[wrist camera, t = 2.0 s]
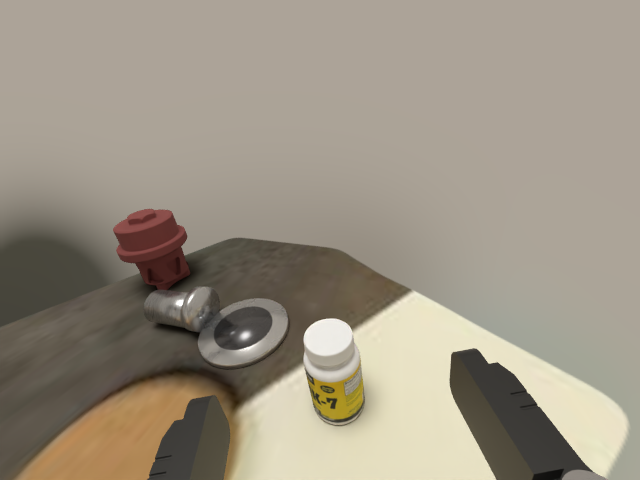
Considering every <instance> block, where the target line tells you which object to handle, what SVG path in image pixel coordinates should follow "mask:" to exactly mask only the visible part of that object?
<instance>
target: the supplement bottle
mask: <svg viewBox="0 0 640 480" xmlns="http://www.w3.org/2000/svg"><path fill="white" fill-rule="evenodd" d="M304 347H305V353H304V367H305V371H306V375H307V380H308V384H309V388H310V392H311V396H312V401H313V405H314V408H315V411H316V413H317V414H318V416H319V417H320V418H321V419H323V420H324V421H326V422H328V423H330V424H333V425H344V424H347V423H350V422H352V421H353V420H355V419H356V418H357V417H358V416H359V414H360V413H361V411H362V409H363V406H364V389H363V379H362V370H361V360H360V353H359V350H358V347H357V346H356V344H355V343H354V338H353V333H352V330H351V328H350V327H349V325H347V324H346V323H345V322H343V321H341V320H338V319H323V320H320V321H317V322H315V323H314V324H312V325H311V326H310V327H309V328H308V329H307V330H306V332H305V335H304Z"/></svg>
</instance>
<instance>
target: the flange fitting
mask: <svg viewBox="0 0 640 480" xmlns="http://www.w3.org/2000/svg"><path fill="white" fill-rule="evenodd" d="M219 307H220V301H219V296H218V294H217V292H216V291H215V290H214V289H213V288H210V287H201V286H200V287H196V288H194V289H192V290H191V291H190V292H189V293H184V292H177V291H169V290H161V289H160V290H156V291H154V292H152V293H151V294H150V295H149V296H148V297H147V299H146V301H145V304H144V315H145V317H146V318H147V320H149V321H151V322H155V323H161V324H166V325H172V326H177V327H183V328H186V329H187V330H189V331H194V332H200V335H199V339H198V347H199V350H200V353H201V355H202V357H203V359H204V360H205V361H206V362H207V363H209V364H210V365H212V366H214V367H217V368H221V369H238V368H243V367H246V366H250V365H252V364H255V363H257V362H259V361H261V360H263V359H264V358H266V357H268V356H269V355H270V354H272V353H273V352H274V351H275V350H276V349H277V348H278V347H279V346H280V345H281V343H282V342H283V341H284V339H285V337H286V335H287V332H288V328H289V321H288V317H287V313H286V311H285V309H284V308H283V307H282V306H281V305H280V304H279V303H277V302H275V301H272V300H269V299H261V298H257V299H248V300H243V301H240V302H237V303H234V304H232V305H230V306H228V307H226V308H224V309H222V310H221V311H219Z"/></svg>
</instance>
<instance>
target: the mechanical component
mask: <svg viewBox="0 0 640 480" xmlns="http://www.w3.org/2000/svg"><path fill="white" fill-rule="evenodd" d="M113 231H114V233H115V235H116V237H117V239H118V241H119V243H120V245H119V246H118V248H117V250H116V251H117V253H118V255H119V257H120V259H121V260H122V261H124V262H128V263H135V264H136V266H137V267H138V269H139V271H140V273H141V276H142V278H143V280H144V282H145V283H146V284H148V285H156V286H157V289H158V290H160V289H161V290H168V289H169V288H170V287H171V286H172V285H173V284H175V283H176V282H177V281H179V280H181V279H183V278H185V277H187V276H188V275H189V274H190V271H189V268H188V263H187V262H186V261H185V257H184V254H183V251H182V248H181V246H182V245H183V244H184V243H185V241H186V239H187V234H186V231H185V229H184V227H182V226H180V225H177V223H176V221H175V219H174V216H173V213H172V212H171V211H169V210H153V209H145V210H141V211H137V212H135V213H133V214H130V215H129V216H128V217H127V219H125V220H123V221H122V222H120V223H119V224H117V225H116V226H115V227H114V229H113Z"/></svg>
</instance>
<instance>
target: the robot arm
mask: <svg viewBox="0 0 640 480" xmlns="http://www.w3.org/2000/svg"><path fill="white" fill-rule="evenodd" d="M450 388H451V392H452V395H453V398H454V400H455V402H456V404H457V406H458V408H459V410H460V412H461V413H462V415H463V417H464V419H465V421H466V423H467V425H468V427H469V428H470V430H471V432H472V434H473V436H474V438H475V440H476V442H477V443H478V445H479V447H480V449H481V451H482V453H483V455H484V457H485V459H486V460H487V462H488V464H489V466H490V468H491V470H492V472H493V474H494V475H495V477H496V479H497V480H607V479H605V478H604V477H602V476H600V475H598V474H596V473H594V472H593V471H592V470H591V469H590V468H589V467H588V466H586V465H585V463H584V462H583V461H582V460H581V459H580V458H579V456H578V455H577V454H576V453H575V451H574V450H573V449H572V447H571V446H570V445H569V444H568V442H567V441H566V440H565V439H564V437H563V436H562V435H561V433H560V432H559V431H558V430H557V428H556V427H555V426H554V425H553V423H552V422H551V421H550V420H549V418H548V417H547V416H546V414H545V413H544V412H543V411H542V409H541V408H540V407H538V406H537V403H536V402H535V400H534V399H533V398H532V397H531V395H530V394H528V393H527V390H526V389H525V388H524V386H523V385H522V384H521V383H520V381H519V380H518V379H517V378H516V376H515V375H514V374H513V373H511V372H510V371H508V370H507V369H506V368H504V367H503V366H502V365H500V364H499V363H498V362H497V363H492V364H488V362H487V361H486V360H485V358H484V357H483V356H482V354H481V353H480V352H479V351H478V350H477V349H469V350H463V351H458V352H453V353H452V355H451V369H450ZM229 443H230V428H229V423H228V420H227V418H226V416H225V414H224V412H223V410H222V407H221V405H220V403H219V401H218V399H217V397H216V396H215V395H212V396H207V397H202V398H196V399H192V400H190V402H189V403H188V406H187V409H186V412H185V415H184V418H183V419H182V420H177V421H174V422H173V424H172V425H171V427H170V428H169V430H168V431H167V432H166V434H165V435H164V437H163V438H162V440H161V443H160V446H159V449H158V452H157V454H156V457H155V462H154V463H153V465H152V468H151V471H150V474H149V479H147V480H223V479H224V473H225V467H226V461H227V455H228V449H229Z"/></svg>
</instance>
